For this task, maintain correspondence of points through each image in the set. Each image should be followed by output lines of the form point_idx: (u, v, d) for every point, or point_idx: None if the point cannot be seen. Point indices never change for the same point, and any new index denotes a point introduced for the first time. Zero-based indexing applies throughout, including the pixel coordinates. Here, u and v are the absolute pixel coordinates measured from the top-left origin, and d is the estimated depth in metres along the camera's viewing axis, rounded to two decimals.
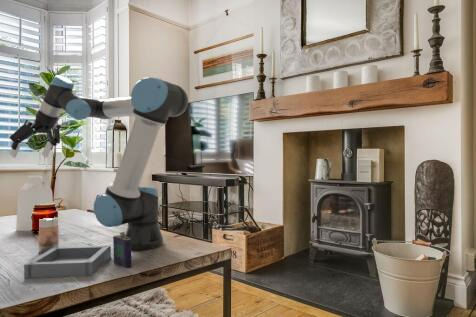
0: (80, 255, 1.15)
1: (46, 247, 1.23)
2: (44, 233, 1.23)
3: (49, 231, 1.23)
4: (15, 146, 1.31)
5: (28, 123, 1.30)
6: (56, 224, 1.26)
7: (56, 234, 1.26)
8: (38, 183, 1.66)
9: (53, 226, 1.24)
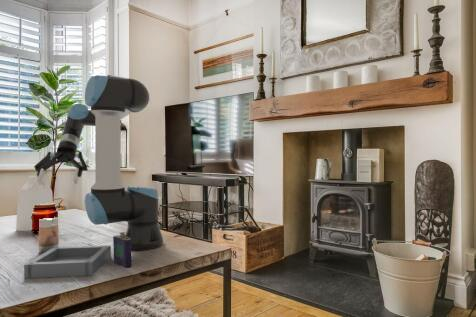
0: (80, 255, 1.15)
1: (46, 247, 1.23)
2: (44, 233, 1.23)
3: (49, 231, 1.23)
4: (38, 172, 1.38)
5: None
6: (56, 224, 1.26)
7: (56, 234, 1.26)
8: None
9: (53, 226, 1.24)
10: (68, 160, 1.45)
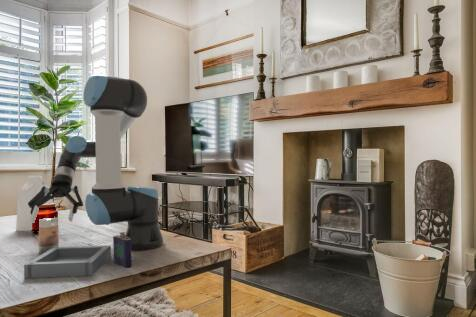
0: (80, 255, 1.15)
1: (46, 247, 1.23)
2: (44, 233, 1.23)
3: (49, 231, 1.23)
4: (32, 209, 1.33)
5: None
6: (56, 224, 1.26)
7: (56, 234, 1.26)
8: (38, 183, 1.66)
9: (53, 226, 1.24)
10: (63, 195, 1.40)
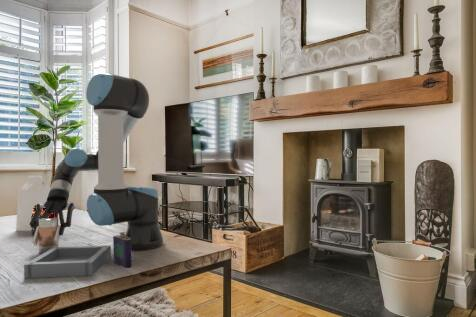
0: (80, 255, 1.15)
1: (46, 247, 1.23)
2: (45, 233, 1.23)
3: (49, 231, 1.23)
4: (34, 230, 1.24)
5: None
6: (56, 224, 1.26)
7: None
8: (38, 183, 1.66)
9: (53, 226, 1.24)
10: None
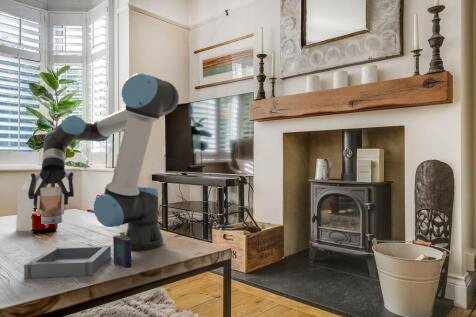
0: (80, 255, 1.15)
1: (51, 218, 1.12)
2: (49, 202, 1.12)
3: (54, 199, 1.13)
4: (35, 200, 1.13)
5: (31, 176, 1.19)
6: (60, 193, 1.16)
7: None
8: (38, 183, 1.66)
9: (58, 194, 1.14)
10: None
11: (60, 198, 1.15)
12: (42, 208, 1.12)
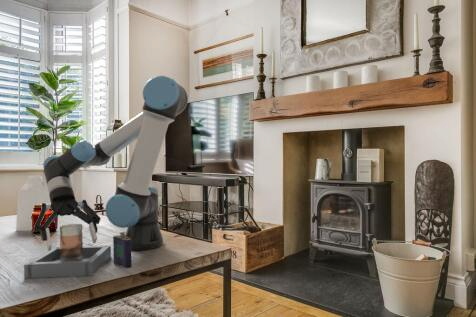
0: None
1: (75, 259, 1.05)
2: (73, 242, 1.05)
3: (78, 239, 1.06)
4: (44, 233, 1.03)
5: (41, 206, 1.09)
6: None
7: (82, 242, 1.09)
8: (38, 183, 1.66)
9: (81, 233, 1.07)
10: (72, 212, 1.13)
11: (82, 236, 1.08)
12: (64, 249, 1.04)
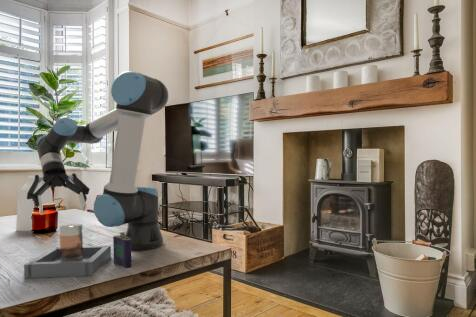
0: None
1: (75, 259, 1.05)
2: (73, 242, 1.05)
3: (78, 239, 1.06)
4: (36, 200, 1.15)
5: (35, 177, 1.21)
6: None
7: (82, 242, 1.09)
8: (38, 183, 1.66)
9: (81, 233, 1.07)
10: (63, 184, 1.25)
11: (82, 237, 1.08)
12: (64, 249, 1.04)
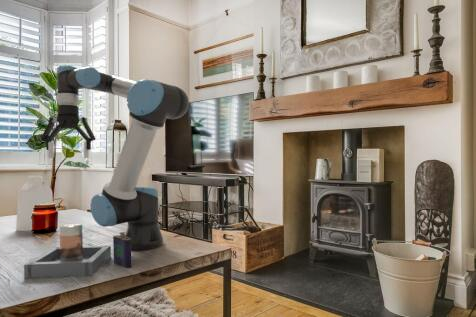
0: None
1: (75, 259, 1.05)
2: (73, 242, 1.05)
3: (78, 239, 1.06)
4: (47, 146, 1.34)
5: None
6: None
7: (82, 242, 1.09)
8: (38, 183, 1.66)
9: (81, 233, 1.07)
10: (73, 127, 1.35)
11: (82, 237, 1.08)
12: (64, 249, 1.04)
